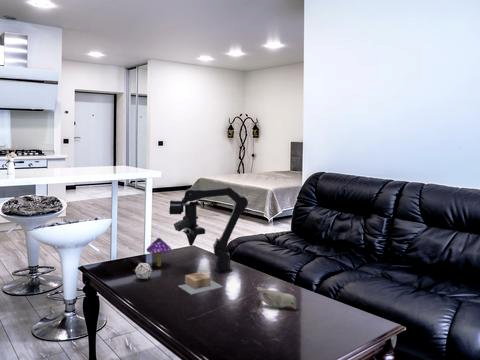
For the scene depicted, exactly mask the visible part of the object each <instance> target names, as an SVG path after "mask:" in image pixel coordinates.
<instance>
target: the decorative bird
mask: <svg viewBox="0 0 480 360" xmlns="http://www.w3.org/2000/svg"><path fill="white" fill-rule="evenodd" d="M256 290H257V291H258V292H259V294H260V297H261V299H259V297H256V298H257V300H256V305H257V307H258V306H260V304H261V303H262V302H263V303H265V304H266V305H268V306H271V307H274V308H279V309H280V308H285V307H289V308H290V307H291V308H292V309H293V310H294V311H295V310H297V304H298V303H297V298H296V297H295V296H294V295H292V294H291V293H284V292H281V291H279V290H272V289H271V290H270V289H267V288H264V287H259V286H257V287H256Z"/></svg>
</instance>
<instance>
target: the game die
mask: <svg viewBox="0 0 480 360" xmlns="http://www.w3.org/2000/svg"><path fill="white" fill-rule="evenodd" d="M150 263H151V262H150V261H148V262H141V261H138V265H137V266H136V267H135V269H133V270H132V271H133V272H135V274H136V277H137V278H136V280H137V281H138V280H139V279H141V280H142V279H144V280H147V281H149V277H150V276H151V274H152V273H154V272H155V271H154V270H153V269H152V267H151V264H150Z"/></svg>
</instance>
